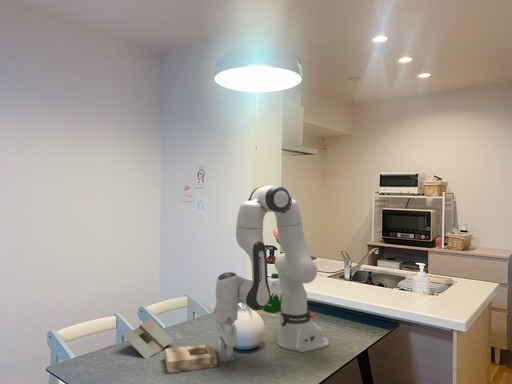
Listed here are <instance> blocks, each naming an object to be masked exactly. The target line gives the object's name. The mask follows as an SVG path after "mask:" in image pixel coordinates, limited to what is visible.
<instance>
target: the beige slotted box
mask: <svg viewBox="0 0 512 384" xmlns="http://www.w3.org/2000/svg"><path fill="white" fill-rule="evenodd" d="M122 336H123V338H125V339H126V340H127V341H128V342H129V343H130V344H131V345H132V347H134V348H135V350H136V351H137V352H138V353H139V354H140V355H141V356H142V357H143V358H144V359H145V360H147V359H150V358H151V357H152V356H154V355H155V354H157V353H159V352H161V351H162V350H164V348H165V347H167V346H168V345H170V344H171V343H172V342H174V341H175V339H174V338H173V337H172V336H171V335H170V334H168V333H167V332H166V331H165V330H164V329H163V328H162V327H160V326H159V324H157V323H156V322H155V321H154V320H153V319H151V318H150V319H147V320H145V322H143V323H141V324H139V327H136V328H135V329H130V330H128V331H126V332H124V333H122Z"/></svg>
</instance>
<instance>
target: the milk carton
mask: <svg viewBox="0 0 512 384" xmlns="http://www.w3.org/2000/svg"><path fill="white" fill-rule="evenodd" d="M268 285H269V289H270V301H269V303H268V304H267V306H266V307H265V308H263V309H262V310H263V311H264V312H268V313H269V314H275V313H278V312H281V310H282V293H281V286H280V280H279V275H278V273H274V272H273V273H271V276H268Z"/></svg>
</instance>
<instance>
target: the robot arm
mask: <svg viewBox="0 0 512 384" xmlns="http://www.w3.org/2000/svg"><path fill="white" fill-rule="evenodd" d="M249 195H250V196H249V198H247V199H248V200H246V201H243V202H242V203H241V204H240V206H239V208H238V209H239V210H238V214H237V218H236V224H235V225H236V226H235V227H236V228H235V238H236V243H237V244H238V246H239V247H240V248H241V249H242V250H243V251H244V252H245V253H246V254H247V255H248V257H249V259H250V262H251V279H249V278H245V277H242V276H240V275H238V274H236V273H235V272H232V271H230V272H224V273H222V274H220V275H219V276H218V277H217V279H216V284H215V285H216V286H215V299H216V304H215V305H214V306H215V308H214V310H213V312H214V313H213V314H214V317H215V318H214V320H215V326H216V330H217V332H218V333H219V337H222V338H223V340H224V342H225V343H226V345H227V349H226V353H227V355H231V354H232V347H233V348H234V347H237V344H238V335H237V334H238V333H237V326H236V325H235V322H236V321H237V320H238V318H239V317H238V315H239V314H238V313H239V311H238V309H239V308H238V307H239V306H238V305H239V304H243V305H245V306H248V308H250V309H252V310H253V311H256V312H257V311H261V310H263V309H264V308H265V307H266V306H267V304H268V303H269V301H270V289H269V285H268V277H269V276H268V257H267V248H266V246H265V242H264V241H265V240H264V221H265V220H264V219H265V216H266V215H267V213H274V215H275V221H276V229H277V235H278V243H279V245H280V247H281V249H282V251H283V252H282V253H280V254H279V255H277V256H276V257H275V260H274V267H275V269H276V272H277V274H278V275H279V280H280V286H281V311H280V313H279V315H280V316H279V321H280V322H279V324H280V326H279V327H280V329H279V333H278V338H277V342H276V343H277V344H278V346H279V347H281V348H283V349H287V350H291V351H297V352H300V353H305V352H308V351H313V350H316V349H321V348H322V349H323V348H325V347H326V348H327V347H329V343H330V342H329V340H328V339H327V338H326V337H325V336H324V333H323V330H322V328H321V327H320V326H319V325H318V324H317V323H316V322H315V321H313V319H315V317H316V315H315V314H314V313H313V312H310V311H308V293H307V291H306V289H305V286H304V284H310V283H312V282H313V281H314V280H316V277H317V275H318V267H317V265H316V264H315V262H314V261H313V259H312V257H311V255H310V252H309V249H308V247H307V244H306V240H305V235H304V228H303V219H302V213H301V210H300V207H299V203H298V201H296V200H295V199H294V198H292V197H291V195H290V193H289V191H288V190H287V189H286V188H285V187H283V186H280V185H265V186H258V187H256V188H254V189H253V191H252V192H251V193H250V194H249Z"/></svg>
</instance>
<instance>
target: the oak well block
mask: <svg viewBox="0 0 512 384" xmlns="http://www.w3.org/2000/svg"><path fill="white" fill-rule="evenodd" d="M217 360H218V355H217V354H216V352H215V349H214V348H213V346H212V344H211V343H205V344H197V345H196V344H195V345H187V346H179V347H169V348H165V349H164V361H165V365H166V371H167V374H171V373H180V372H186V371H193V370H203V369H209V368H217V365H218V364H217V362H218V361H217Z"/></svg>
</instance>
